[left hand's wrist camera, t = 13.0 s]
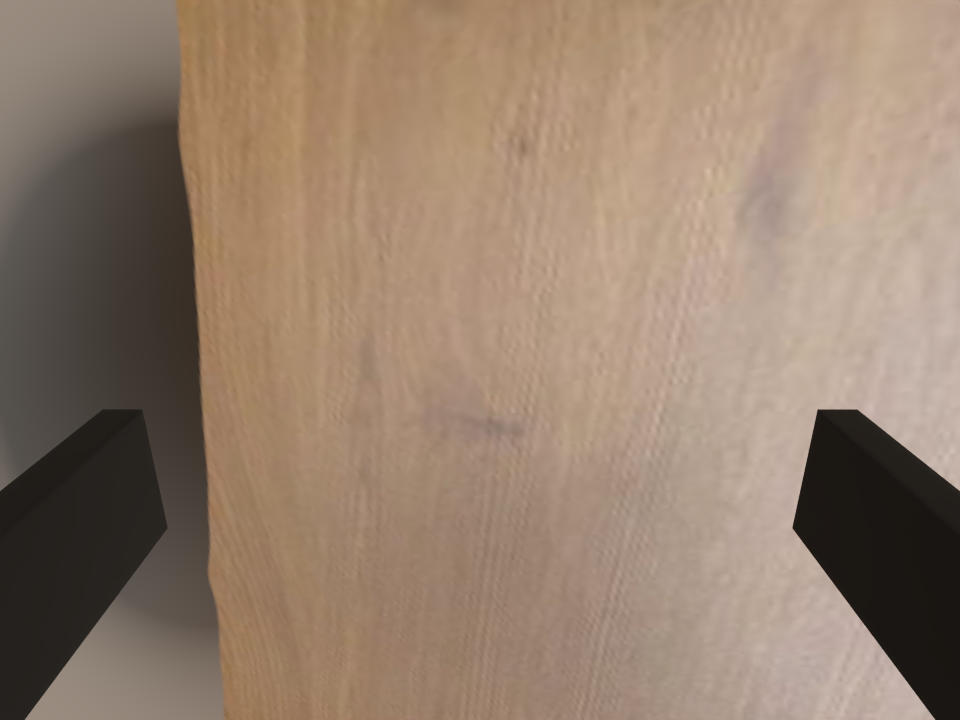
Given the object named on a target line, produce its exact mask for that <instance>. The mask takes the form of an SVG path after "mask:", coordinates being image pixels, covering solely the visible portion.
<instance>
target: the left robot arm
mask: <svg viewBox="0 0 960 720" xmlns="http://www.w3.org/2000/svg"><path fill="white" fill-rule="evenodd" d="M166 529H167V523H166V519H165V514H164V509H163V504H162V500H161V495H160V490H159V486H158V481H157V476H156V472H155V467H154V462H153V458H152V453H151V448H150V444H149V439H148V434H147V430H146V425H145V420H144V416H143V411H142V410H102V411H100V412H99V413H98V414H97V415H95V416H94V417H93V418H92V419H90V420H89V421H88V422H87V423H85V424H84V425H83V426H82V427H80V428H79V429H78V430H77V431H75V432H74V433H73V434H72V435H70V436H69V437H68V438H66V439H65V440H64V441H63V442H61V443H60V444H59V445H58V446H56V447H55V448H54V449H53V450H51V451H50V452H49V453H48V454H46V455H45V456H44V457H43V458H41V459H40V460H39V461H38V462H36V463H35V464H34V465H33V466H31V467H30V468H29V469H28V470H26V471H25V472H24V473H23V474H21V475H20V476H19V477H18V478H16V479H15V480H14V481H12V482H11V483H10V484H9V485H8V486H6V487H5V488H4V489H2V490H1V491H0V720H25V718H26V717H27V716H28V714H29V713H30V712H31V710H32V709H33V708H34V706H35V705H36V704H37V702H38V701H39V700H40V698H41V697H42V696H43V694H44V693H45V692H46V690H47V689H48V688H49V686H50V685H51V684H52V682H53V681H54V680H55V678H56V677H57V676H58V674H59V673H60V672H61V670H62V669H63V667H64V666H65V665H66V664H67V662H68V661H69V660H70V658H71V657H72V655H73V654H74V653H75V651H76V650H77V649H78V647H79V646H80V645H81V643H82V642H83V641H84V639H85V638H86V637H87V635H88V634H89V633H90V631H91V630H92V629H93V627H94V626H95V625H96V623H97V622H98V621H99V619H100V618H101V617H102V615H103V614H104V613H105V611H106V610H107V609H108V607H109V606H110V605H111V603H112V602H113V600H114V599H115V598H116V596H117V595H118V594H119V592H120V591H121V590H122V588H123V587H124V586H125V584H126V583H127V582H128V580H129V579H130V578H131V576H132V575H133V574H134V572H135V571H136V570H137V568H138V567H139V566H140V564H141V563H142V562H143V560H144V559H145V558H146V556H147V555H148V554H149V552H150V551H151V550H152V548H153V547H154V546H155V544H156V543H157V541H158V540H159V539H160V538H161V536H162V535H163V533H164V532H165V531H166ZM793 529H794V531H795V532H796V533H797V535H798V536H799V538H800V539H801V540H802V542H803V543H804V544H805V546H806V547H807V548H808V550H809V551H810V552H811V554H812V555H813V556H814V558H815V559H816V560H817V562H818V563H819V564H820V566H821V567H822V568H823V570H824V571H825V572H826V574H827V575H828V576H829V578H830V579H831V580H832V582H833V583H834V584H835V586H836V587H837V588H838V590H839V591H840V592H841V594H842V595H843V596H844V598H845V599H846V601H847V602H848V603H849V605H850V606H851V607H852V609H853V610H854V611H855V613H856V614H857V615H858V617H859V618H860V619H861V621H862V622H863V623H864V625H865V626H866V627H867V629H868V630H869V631H870V633H871V634H872V635H873V637H874V638H875V639H876V641H877V642H878V643H879V645H880V646H881V647H882V649H883V650H884V651H885V653H886V654H887V655H888V657H889V658H890V660H891V661H892V662H893V664H894V665H895V666H896V668H897V669H898V670H899V672H900V673H901V674H902V676H903V677H904V678H905V680H906V681H907V682H908V684H909V685H910V686H911V688H912V689H913V690H914V692H915V693H916V694H917V696H918V697H919V698H920V700H921V701H922V702H923V704H924V705H925V706H926V708H927V709H928V710H929V712H930V713H931V714H932V716H933V717H934V718H935V720H960V491H959V490H958V489H956V488H955V487H954V486H953V485H951V484H950V483H949V482H948V481H946V480H945V479H944V478H942V477H941V476H940V475H939V474H937V473H936V472H935V471H934V470H932V469H931V468H930V467H929V466H927V465H926V464H925V463H924V462H922V461H921V460H920V459H919V458H917V457H916V456H915V455H914V454H912V453H911V452H910V451H909V450H907V449H906V448H905V447H904V446H902V445H901V444H900V443H899V442H897V441H896V440H895V439H894V438H892V437H891V436H890V435H888V434H887V433H886V432H885V431H883V430H882V429H881V428H880V427H878V426H877V425H876V424H875V423H873V422H872V421H871V420H870V419H868V418H867V417H866V416H865V415H863V414H862V413H861V412H860V411H858V410H818V411H817V416H816V420H815V425H814V430H813V434H812V439H811V444H810V448H809V453H808V458H807V462H806V467H805V472H804V476H803V481H802V486H801V490H800V495H799V500H798V504H797V509H796V514H795V518H794V523H793Z"/></svg>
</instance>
